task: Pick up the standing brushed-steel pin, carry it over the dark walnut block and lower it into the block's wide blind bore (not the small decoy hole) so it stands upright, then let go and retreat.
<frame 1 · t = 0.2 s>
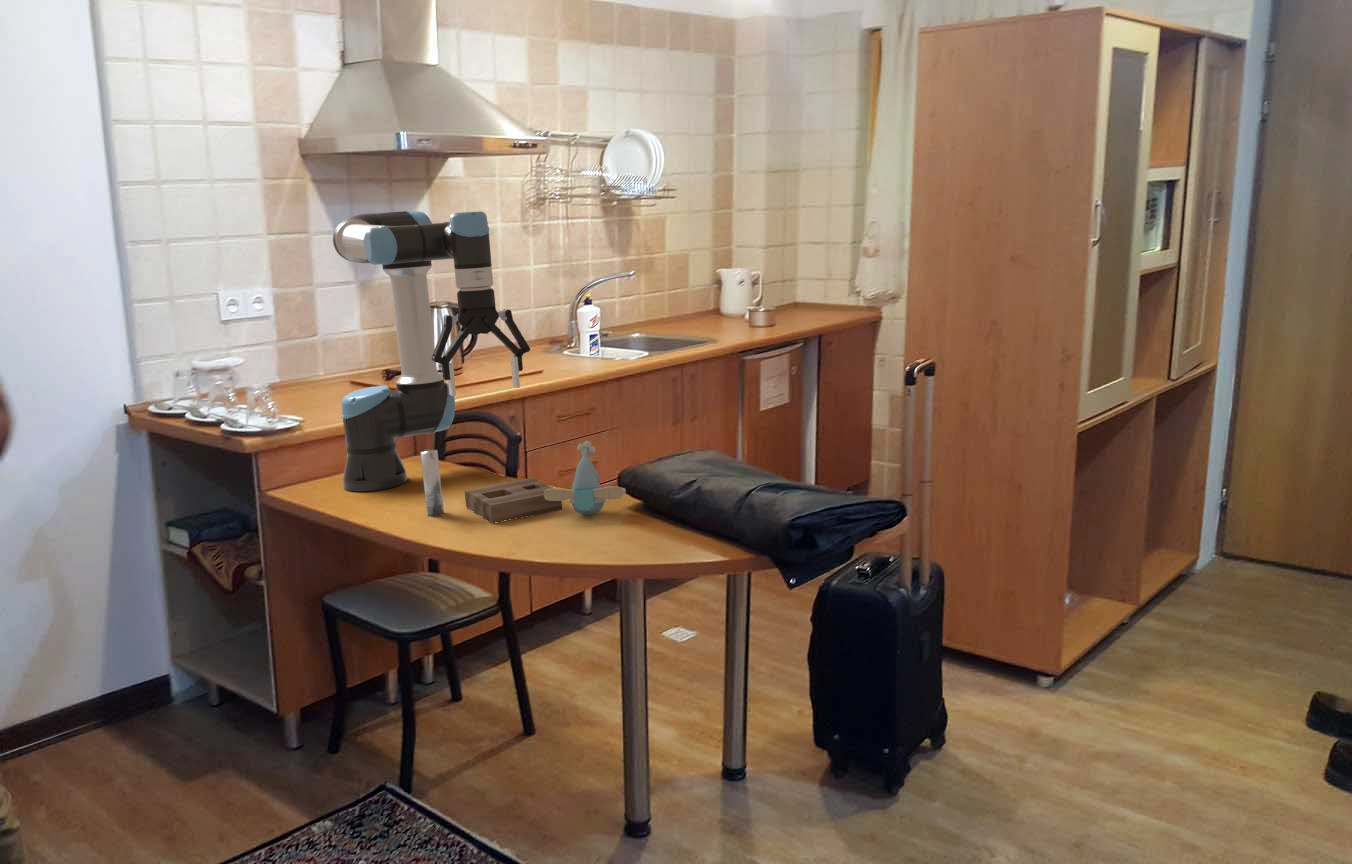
hand: (485, 391, 231), 27 cm above the table, fingers open, 13 cm apart
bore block: (513, 508, 242), on the table
toy figure: (589, 514, 234), on the table
pin: (435, 513, 241), on the table
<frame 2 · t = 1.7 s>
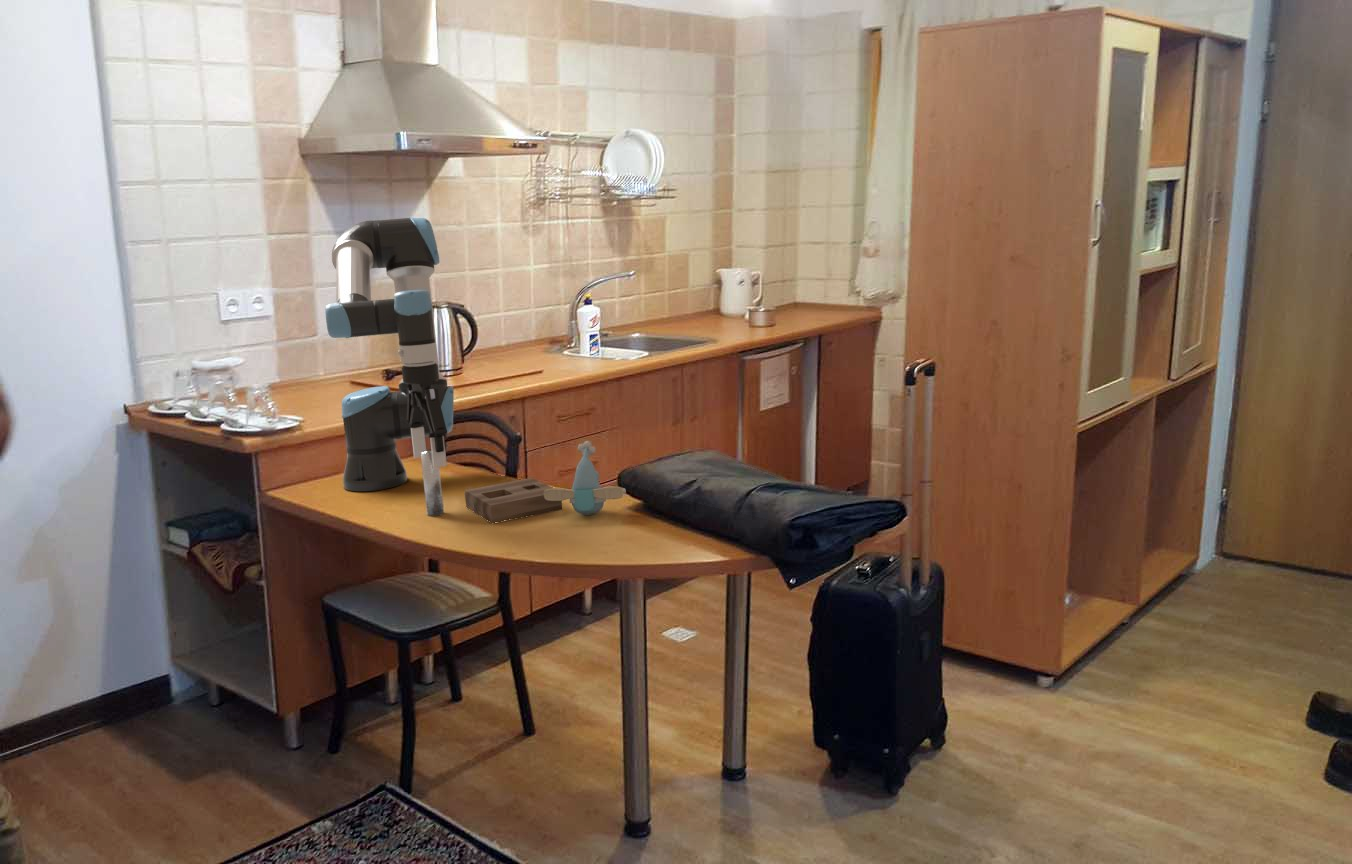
hand: (430, 461, 239), 12 cm above the table, fingers open, 13 cm apart
nothing on the table moved.
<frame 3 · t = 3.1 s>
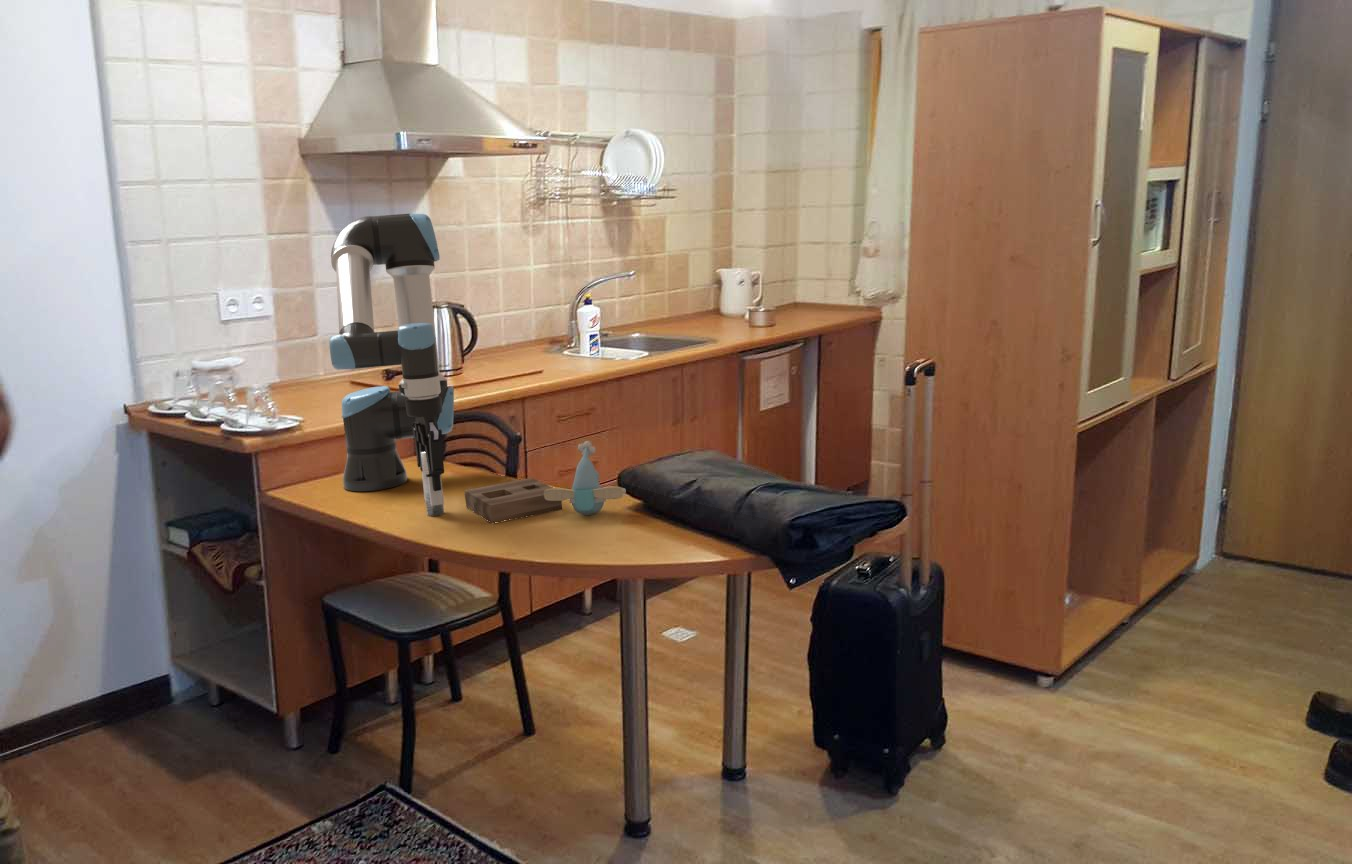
hand: (434, 502, 241), 3 cm above the table, fingers closed on pin, 3 cm apart
pin: (435, 513, 241), on the table, touching gripper
everything else where it was.
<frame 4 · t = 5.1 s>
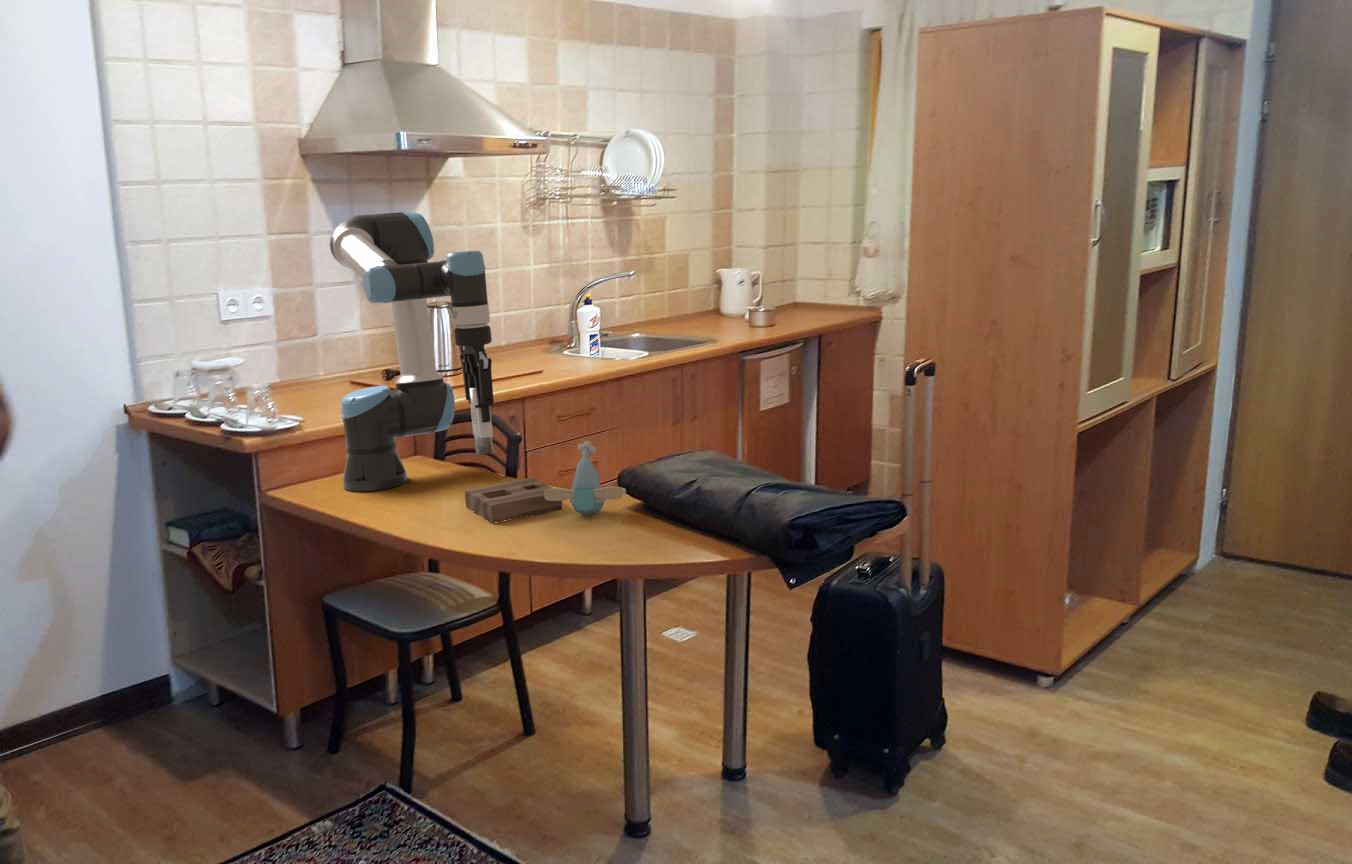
hand: (483, 435, 236), 17 cm above the table, fingers closed on pin, 3 cm apart
pin: (484, 452, 237), point 13 cm above the table, touching gripper
everything else where it was.
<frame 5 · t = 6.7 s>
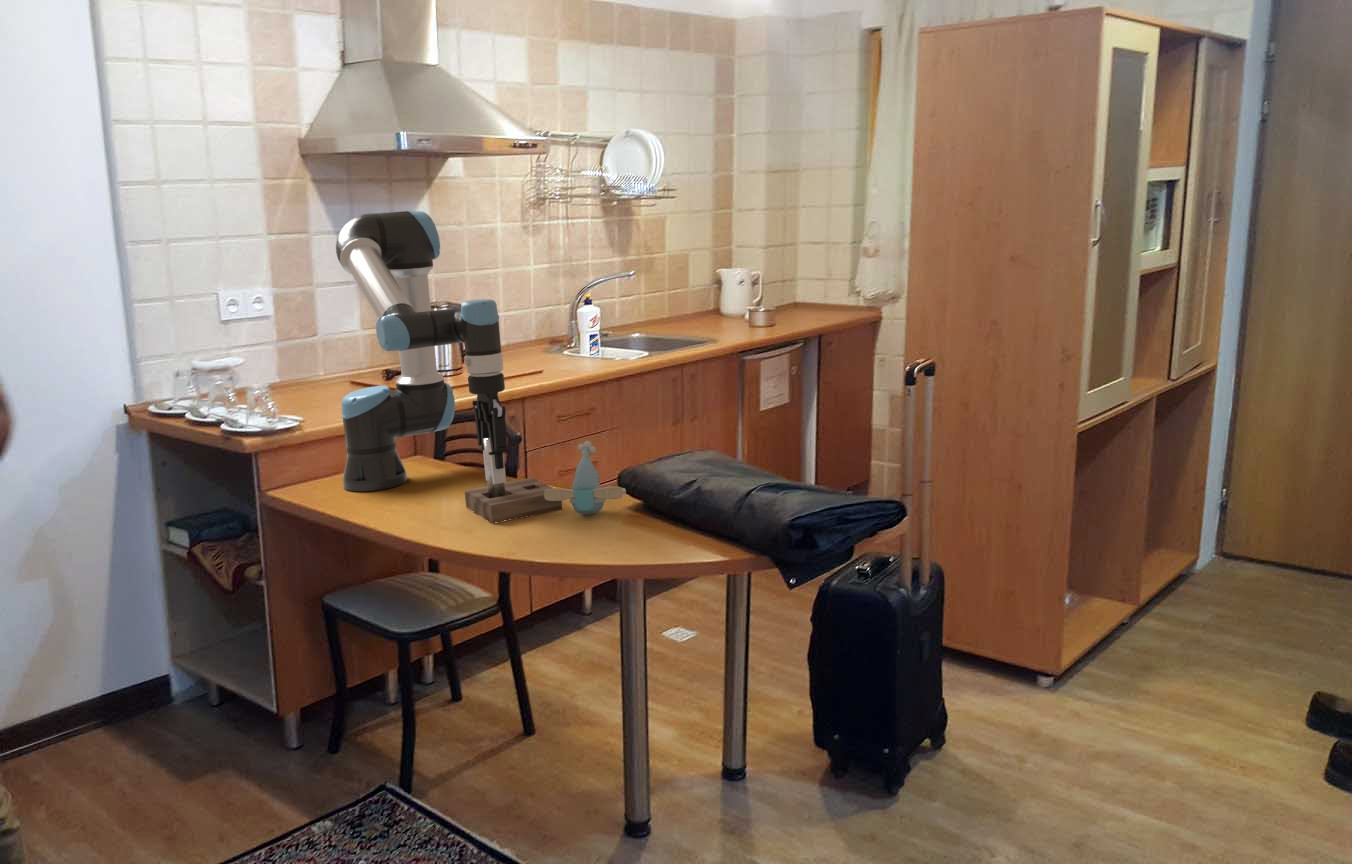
hand: (495, 480, 239), 7 cm above the table, fingers closed on pin, 3 cm apart
pin: (497, 501, 239), point 2 cm above the table, touching gripper
everything else where it was.
when the fingers open (6 cm above the table, at t = 7.1 s): pin stays where it is, resting on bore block.
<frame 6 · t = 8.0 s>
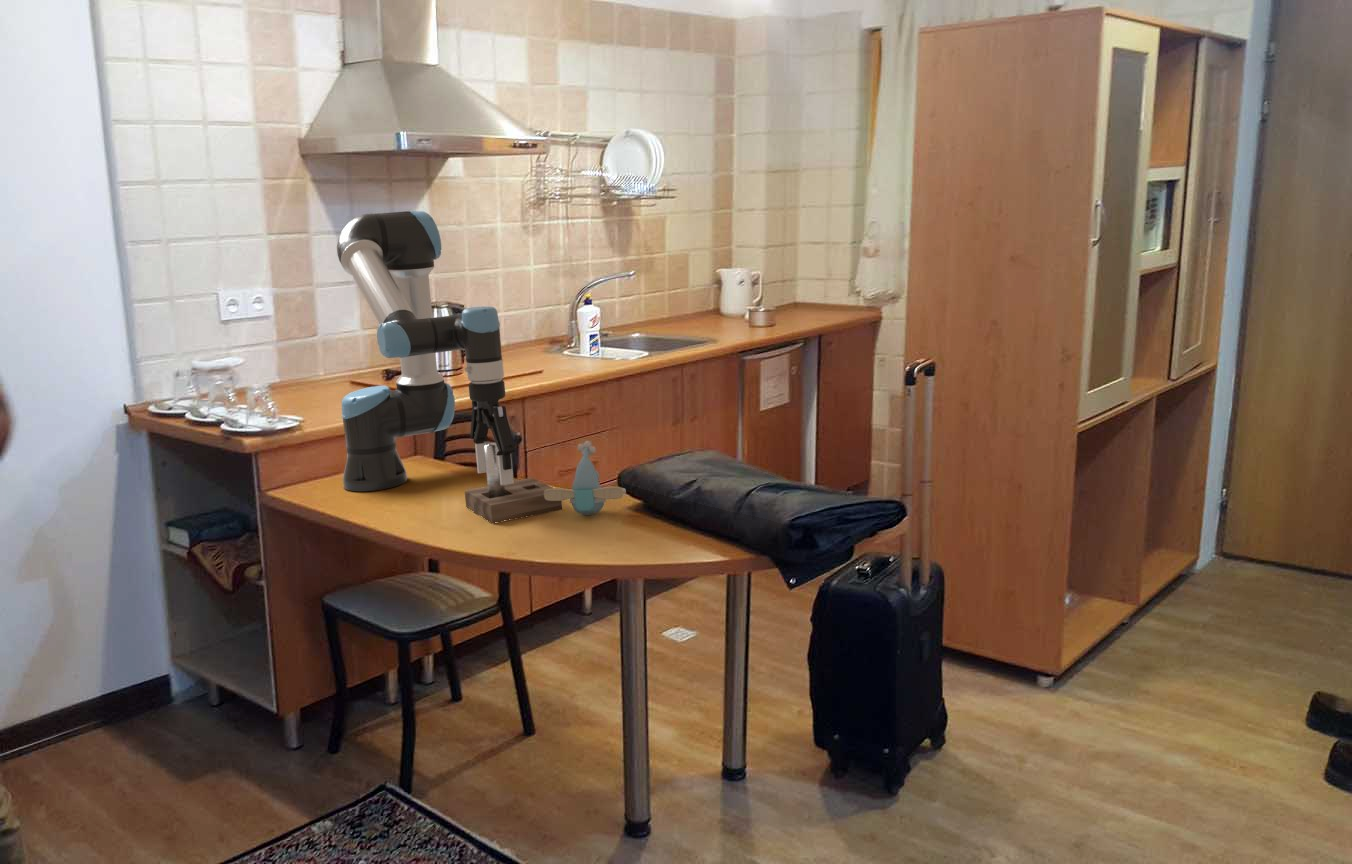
hand: (495, 478, 239), 8 cm above the table, fingers open, 13 cm apart
pin: (498, 507, 240), point 1 cm above the table, touching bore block
everything else where it was.
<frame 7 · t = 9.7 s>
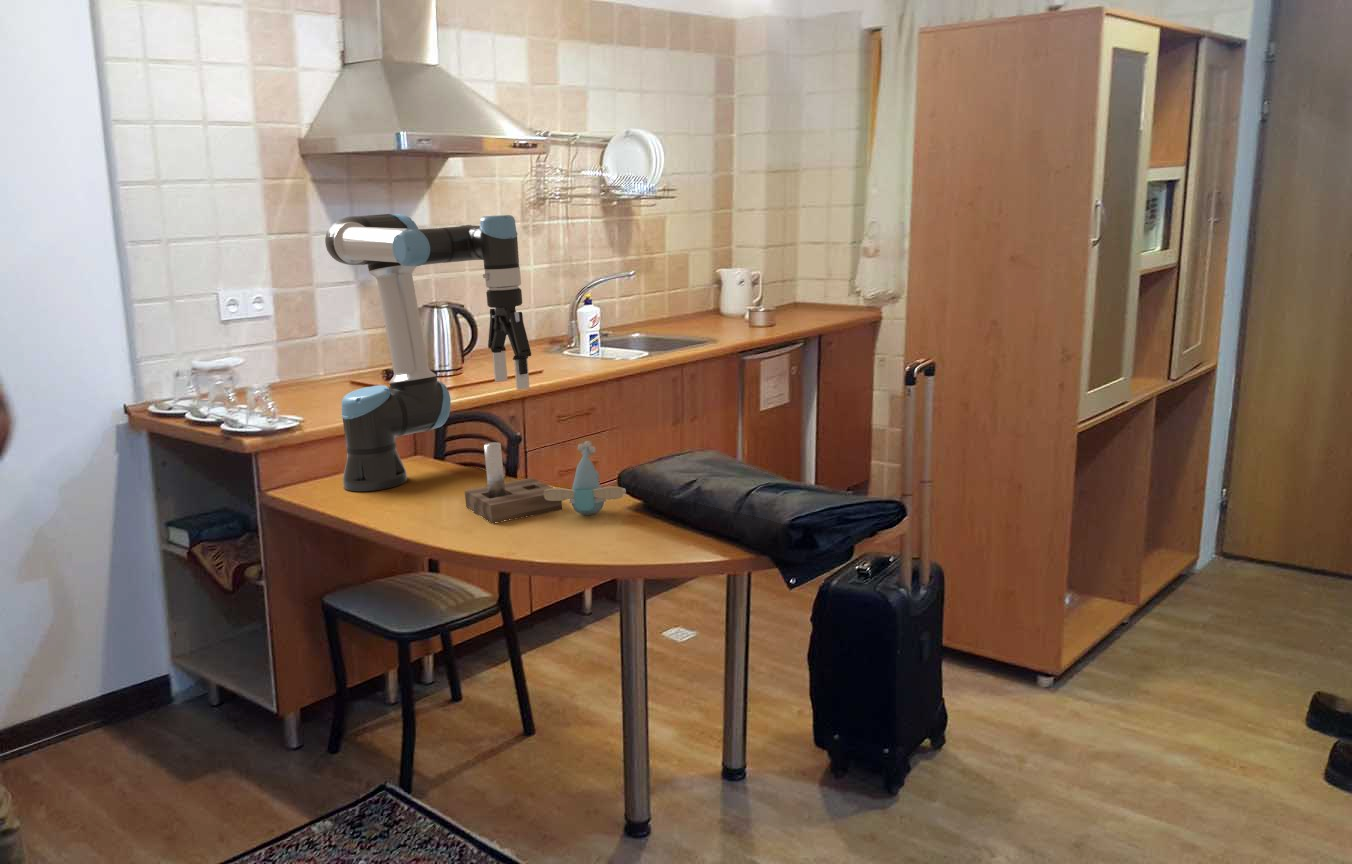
hand: (511, 385, 244), 26 cm above the table, fingers open, 13 cm apart
nothing on the table moved.
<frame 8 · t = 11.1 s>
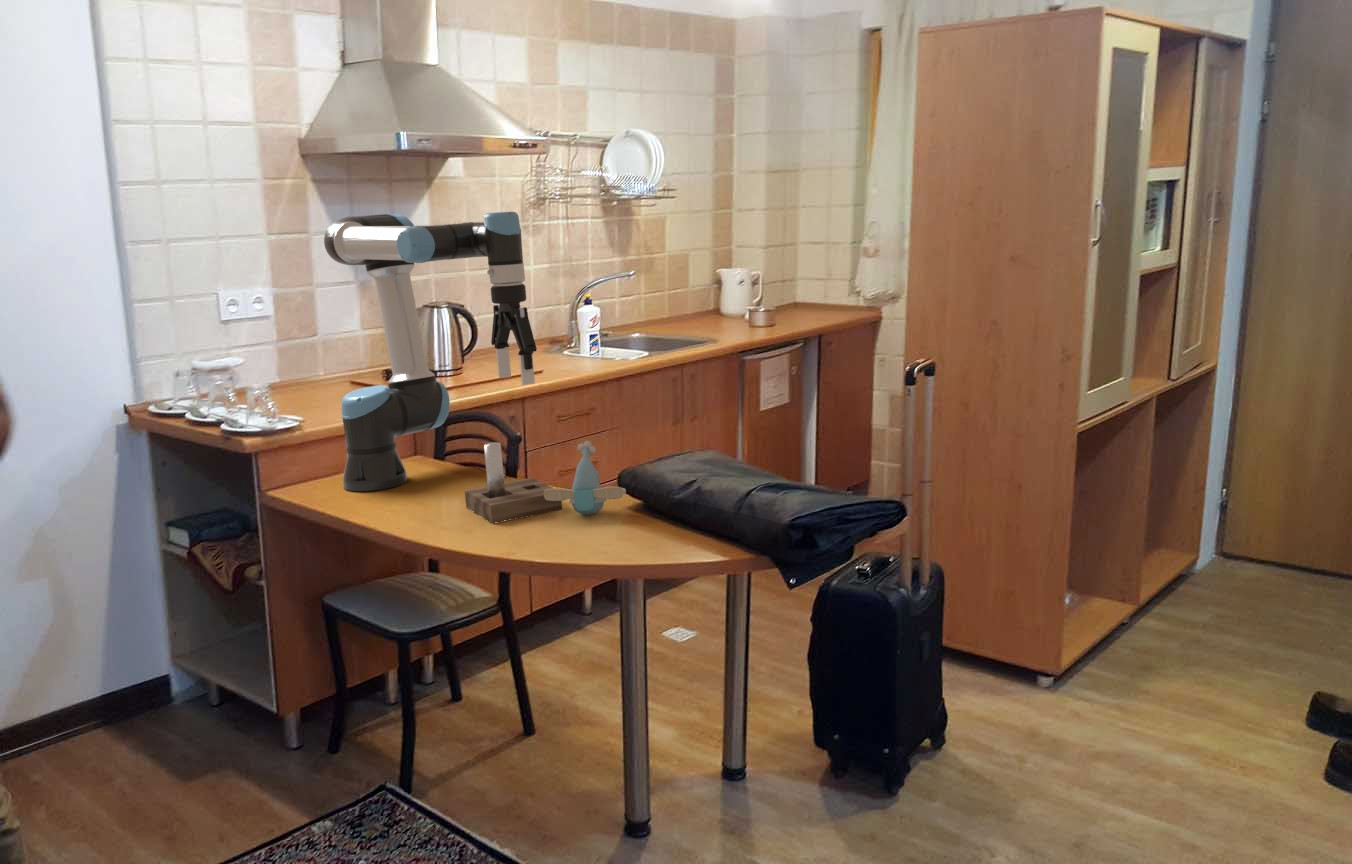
hand: (516, 380, 245), 27 cm above the table, fingers open, 13 cm apart
nothing on the table moved.
at the end: pin 0.0 cm from the target spot on the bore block, point 1.0 cm above the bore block's base; pin tilted 0°; the gripper is holding nothing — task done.
